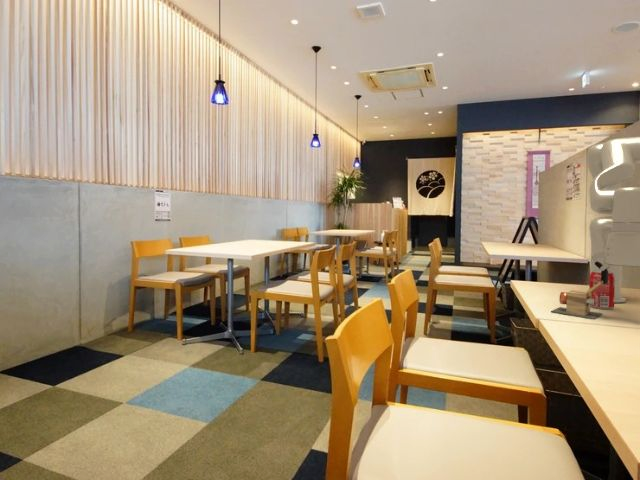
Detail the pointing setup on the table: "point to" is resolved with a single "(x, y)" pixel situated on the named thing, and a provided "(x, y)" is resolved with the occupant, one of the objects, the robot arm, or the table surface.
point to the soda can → (602, 291)
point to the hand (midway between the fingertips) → (625, 285)
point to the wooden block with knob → (577, 305)
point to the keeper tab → (595, 286)
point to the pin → (564, 299)
